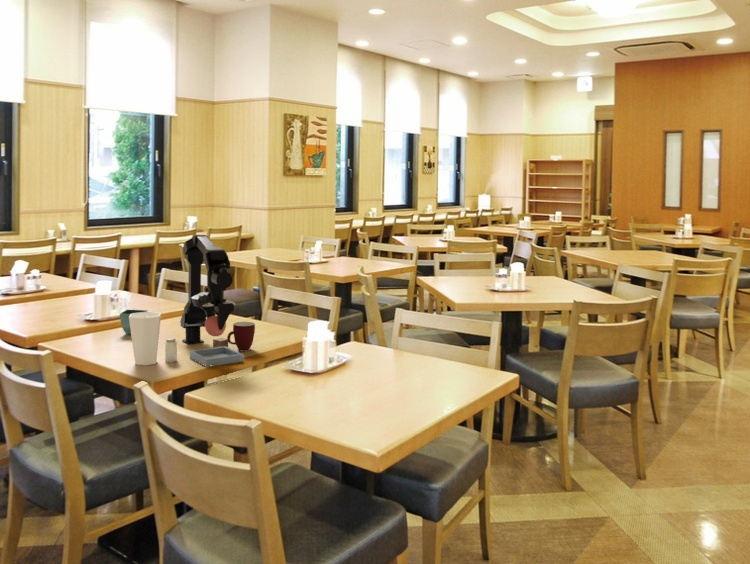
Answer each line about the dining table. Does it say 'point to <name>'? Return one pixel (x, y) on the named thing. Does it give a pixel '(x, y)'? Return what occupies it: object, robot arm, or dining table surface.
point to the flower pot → (125, 319)
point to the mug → (242, 335)
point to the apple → (213, 326)
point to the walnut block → (220, 342)
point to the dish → (216, 356)
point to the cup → (145, 336)
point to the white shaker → (170, 350)
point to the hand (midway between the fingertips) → (215, 327)
